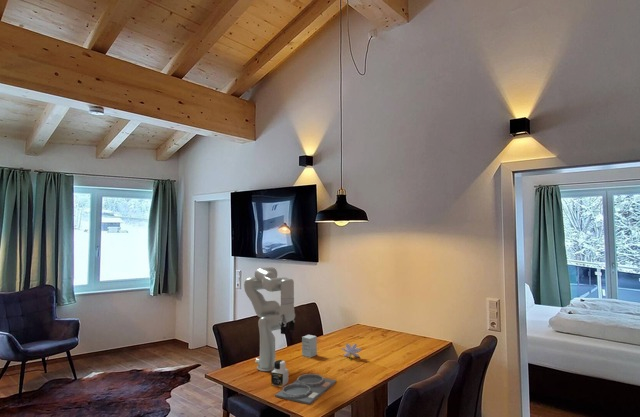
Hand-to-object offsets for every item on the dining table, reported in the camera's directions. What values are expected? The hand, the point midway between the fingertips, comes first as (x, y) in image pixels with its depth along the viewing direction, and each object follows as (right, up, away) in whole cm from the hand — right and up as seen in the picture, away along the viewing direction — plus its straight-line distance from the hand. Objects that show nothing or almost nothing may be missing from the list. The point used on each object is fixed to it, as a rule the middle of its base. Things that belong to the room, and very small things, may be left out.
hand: (287, 331), depth 211 cm
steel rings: (+9, -25, -12) cm, 29 cm away
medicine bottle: (-4, -27, -5) cm, 28 cm away
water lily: (+40, -30, +36) cm, 61 cm away
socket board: (+11, -26, -13) cm, 31 cm away
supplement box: (+11, -30, +42) cm, 53 cm away
